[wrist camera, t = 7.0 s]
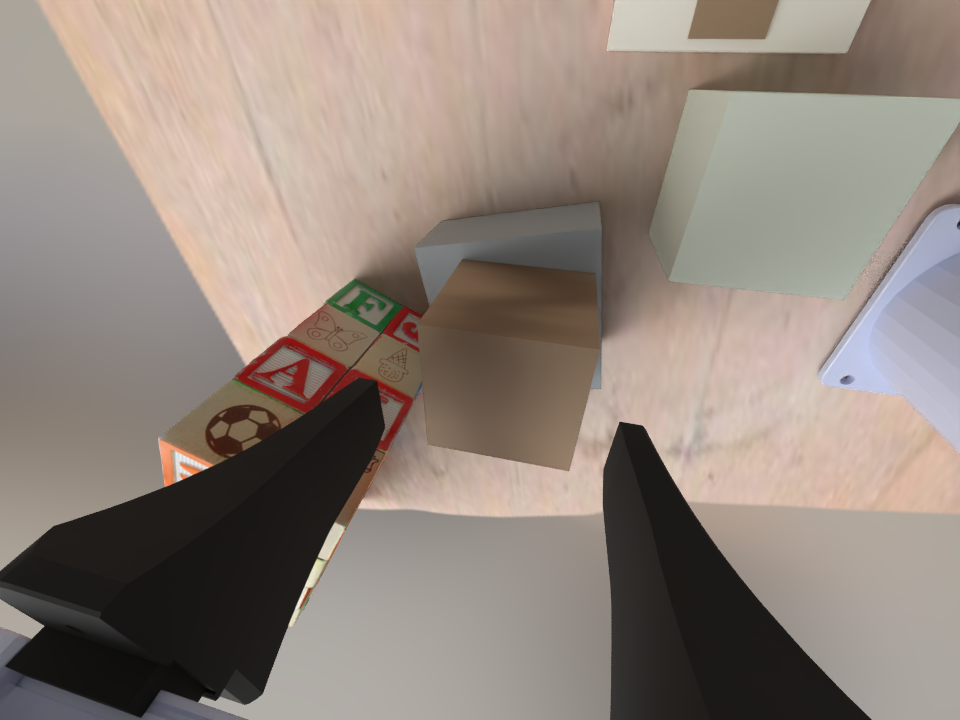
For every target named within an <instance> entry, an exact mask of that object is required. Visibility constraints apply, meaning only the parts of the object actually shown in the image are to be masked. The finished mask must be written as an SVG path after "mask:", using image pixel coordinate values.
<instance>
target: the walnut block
mask: <svg viewBox="0 0 960 720" xmlns="http://www.w3.org/2000/svg"><path fill="white" fill-rule="evenodd" d="M417 328H418V339H419V350H420V362H421V373H422V384H423V396H424V407H425V418H426V430H427V441H428V445H434V446H439V447H444V448H449V449H455V450H460V451H465V452H471V453H476V454H481V455H486V456H492V457H497V458H502V459H507V460H513V461H518V462H523V463H529V464H534V465H539V466H544V467H550V468H555V469H560V470H565V471H569V470H570V466H571V462H572V458H573V454H574V450H575V446H576V442H577V438H578V435H579V431H580V427H581V423H582V419H583V415H584V411H585V407H586V403H587V399H588V395H589V391H590V387H591V383H592V380H593V376H594V372H595V368H596V364H597V360H598V356H599V352H600V339H599V322H598V305H597V288H596V273H589V272H580V271H570V270H561V269H551V268H542V267H532V266H523V265H514V264H504V263H495V262H485V261H476V260H466V259H462V260H461V262H460V263H459V264H458V266H457V267H456V269H455V270H454V272H453V273H452V275H451V276H450V278H449V279H448V280H447V282H446V283H445V285H444V286H443V288H442V289H441V291H440V292H439V294H438V295H437V296H436V298H435V299H434V301H433V302H432V304H431V305H430V307H429V308H428V310H427V311H426V313H425V314H424V315H423V317H422V318H421V320H420V321H419V323H418V324H417Z"/></svg>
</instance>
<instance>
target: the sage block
mask: <svg viewBox="0 0 960 720" xmlns="http://www.w3.org/2000/svg"><path fill="white" fill-rule="evenodd" d="M959 123H960V99H956V98H932V97H908V96H884V95H861V94H830V93H796V92H762V91H728V90H695V89H689V92H688V96H687V99H686V103H685V106H684V110H683V113H682V117H681V120H680V124H679V127H678V131H677V135H676V138H675V142H674V145H673V149H672V152H671V156H670V159H669V163H668V166H667V170H666V173H665V177H664V180H663V184H662V187H661V191H660V195H659V198H658V202H657V205H656V209H655V212H654V216H653V219H652V223H651V226H650V230H649V233H648V234H649V236H650V239H651V241H652V244H653V246H654V248H655V251H656V253H657V256H658V258H659V260H660V263H661V265H662V268H663V270H664V272H665V275H666V277H667V279H668V281H669V282H678V283H688V284H697V285H706V286H716V287H725V288H734V289H744V290H753V291H762V292H772V293H781V294H790V295H800V296H809V297H818V298H828V299H837V300H844V299H845V297H846V296H847V294H848V293H849V291H850V290H851V288H852V287H853V285H854V284H855V282H856V281H857V279H858V277H859V276H860V274H861V273H862V271H863V270H864V268H865V267H866V265H867V264H868V262H869V261H870V259H871V258H872V256H873V254H874V253H875V251H876V250H877V248H878V247H879V245H880V244H881V242H882V241H883V239H884V238H885V236H886V235H887V233H888V231H889V230H890V228H891V227H892V225H893V224H894V222H895V221H896V219H897V218H898V216H899V215H900V213H901V212H902V210H903V208H904V207H905V205H906V204H907V202H908V201H909V199H910V198H911V196H912V195H913V193H914V192H915V190H916V189H917V187H918V185H919V184H920V182H921V181H922V179H923V178H924V176H925V175H926V173H927V172H928V170H929V169H930V167H931V166H932V164H933V162H934V161H935V159H936V158H937V156H938V155H939V153H940V152H941V150H942V149H943V147H944V146H945V144H946V143H947V141H948V139H949V138H950V136H951V135H952V133H953V132H954V130H955V129H956V127H957V126H958V124H959Z"/></svg>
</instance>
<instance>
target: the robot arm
mask: <svg viewBox="0 0 960 720" xmlns="http://www.w3.org/2000/svg"><path fill="white" fill-rule="evenodd" d="M959 221H960V204H946V205H943V206H941V207H938V208H937V209H935V210H934V211H932V212H931V213H930V214H929V215H928V216H927V217H926V219H925V220H924V222H923V223H922V224H921V226H920V227H919V229H918V230H917V232H916V233H915V235H914V236H913V237H912V239H911V240H910V242H909V243H908V245H907V246H906V247H905V249H904V250H903V252H902V253H901V255H900V256H899V258H898V259H897V260H896V262H895V263H894V265H893V266H892V268H891V269H890V271H889V272H888V273H887V275H886V276H885V278H884V279H883V281H882V282H881V284H880V285H879V286H878V288H877V289H876V291H875V292H874V294H873V295H872V297H871V298H870V299H869V301H868V302H867V304H866V305H865V307H864V308H863V309H862V311H861V312H860V314H859V315H858V317H857V318H856V320H855V321H854V322H853V324H852V325H851V327H850V328H849V330H848V331H847V333H846V334H845V335H844V337H843V338H842V340H841V341H840V343H839V344H838V346H837V347H836V348H835V350H834V351H833V353H832V354H831V356H830V357H829V359H828V360H827V361H826V363H825V364H824V366H823V367H822V369H821V370H820V372H819V374H818V379H819V380H820V381H821V382H822V383H823V384H824V385H827V386H832V387H839V388H846V389H853V390H860V391H868V392H875V393H882V394H889V395H896V396H902V397H903V398H904V399H905V400H906V401H907V402H908V403H909V404H910V405H911V406H912V407H913V408H914V409H915V410H916V411H917V412H918V413H919V414H920V415H921V416H922V417H923V418H924V419H925V420H926V421H927V422H928V423H929V424H930V425H931V426H932V427H933V428H934V429H935V430H936V431H937V432H938V433H939V434H940V435H941V436H942V437H943V438H944V439H945V440H946V441H947V442H948V443H949V444H950V445H951V446H952V447H953V448H954V449H955V450H956V451H957V452H958V453H959V454H960V226H957V224H958V222H959ZM848 375H850V376H848ZM845 376H848V377H847V378H845V379H842V378H843V377H845ZM384 430H385V422H384V416H383V411H382V405H381V399H380V394H379V388H378V382H377V381H376V380H370V379H365V378H358V379H356V380H354V381H353V382H351V383H350V384H348V385H347V386H345V387H344V388H342V389H341V390H339V391H338V392H337V393H335V394H334V395H332V396H331V397H329V398H328V399H326V400H325V401H323V402H322V403H320V404H319V405H317V406H316V407H314V408H313V409H312V410H310V411H309V412H307V413H306V414H304V415H303V416H301V417H299V418H298V419H296V420H295V421H293V422H291V423H290V424H288V425H287V426H285V427H283V428H282V429H280V430H278V431H277V432H275V433H274V434H272V435H270V436H269V437H267V438H265V439H264V440H262V441H260V442H258V443H257V444H255V445H253V446H251V447H249V448H247V449H246V450H244V451H242V452H240V453H238V454H236V455H234V456H232V457H230V458H228V459H226V460H224V461H222V462H220V463H218V464H216V465H214V466H212V467H209V468H207V469H205V470H203V471H201V472H198V473H196V474H194V475H192V476H190V477H187V478H185V479H183V480H181V481H178V482H176V483H174V484H171V485H169V486H166V487H164V488H161V489H159V490H156V491H154V492H151V493H149V494H146V495H144V496H141V497H138V498H136V499H133V500H130V501H128V502H125V503H122V504H119V505H116V506H114V507H111V508H108V509H105V510H102V511H99V512H96V513H93V514H90V515H87V516H84V517H81V518H78V519H75V520H72V521H69V522H65V523H62V524H59V525H56V526H53V527H52V528H51V529H50V530H48V531H47V532H46V533H45V534H44V535H42V536H41V537H40V538H39V539H38V540H37V541H35V542H34V543H33V544H32V545H31V546H29V548H27V549H26V550H25V551H23V552H22V553H21V554H20V555H19V556H17V557H16V558H15V559H14V560H13V561H12V562H10V563H9V564H8V565H7V566H6V567H4V568H3V569H2V570H1V571H0V599H1V600H3V601H4V602H6V603H8V604H9V605H11V606H13V607H14V608H16V609H18V610H19V611H21V612H23V613H24V614H26V615H28V616H29V617H31V618H33V619H34V620H36V621H38V622H39V623H41V624H42V625H44V628H42V629H41V630H40V631H39V633H38V634H36V635H35V636H34V637H33V638H32V639H30V638H28V637H26V636H23V635H21V634H18V633H16V632H13V631H10V630H7V629H4V628H2V627H0V720H247V719H244V718H242V717H239V716H236V715H233V714H230V713H227V712H224V711H221V710H218V709H216V708H213V707H210V706H207V705H204V704H201V703H198V702H199V700H200V698H201V697H205V698H208V699H211V700H214V701H216V700H217V699H218V698H219V697H223V698H226V699H229V700H232V701H235V702H238V703H241V704H244V705H246V704H249V703H251V702H252V701H254V700H256V699H257V698H258V697H259V696H261V695H262V694H263V692H264V689H265V686H266V683H267V681H268V678H269V675H270V672H271V670H272V667H273V664H274V661H275V659H276V656H277V654H278V651H279V648H280V646H281V643H282V640H283V638H284V635H285V633H286V630H287V628H288V625H289V623H290V620H291V618H292V615H293V613H294V611H295V608H296V606H297V603H298V601H299V598H300V596H301V594H302V591H303V589H304V587H305V585H306V582H307V580H308V578H309V575H310V573H311V571H312V569H313V566H314V564H315V562H316V560H317V558H318V555H319V553H320V551H321V549H322V547H323V545H324V543H325V540H326V538H327V536H328V534H329V532H330V530H331V528H332V527H333V525H334V523H335V521H336V519H337V517H338V516H339V514H340V512H341V511H342V509H343V507H344V506H345V504H346V502H347V501H348V499H349V497H350V495H351V494H352V492H353V490H354V489H355V487H356V485H357V484H358V482H359V480H360V479H361V477H362V475H363V473H364V472H365V470H366V468H367V466H368V465H369V463H370V461H371V459H372V458H373V456H374V454H375V451H376V449H377V447H378V445H379V442H380V440H381V437H382V435H383V432H384ZM603 512H604V523H605V533H606V544H607V554H608V564H609V575H610V586H611V603H612V604H611V606H612V652H611V653H612V654H611V655H612V657H611V713H610V720H871V719H870V718H869V717H868V716H867V715H866V714H865V713H864V712H863V711H862V710H861V709H860V708H859V707H858V706H857V705H856V704H855V703H854V702H853V701H852V700H851V699H850V698H849V697H848V696H847V695H846V694H845V693H844V692H843V691H842V690H841V689H840V688H839V687H838V686H837V685H836V684H835V683H834V682H833V681H832V680H831V679H830V678H829V677H828V676H827V675H826V674H825V673H824V672H823V671H822V669H820V667H819V666H818V665H817V664H816V663H815V662H814V661H813V660H812V659H811V658H810V657H809V656H808V655H807V654H806V653H805V652H804V651H803V650H802V648H800V646H799V645H798V644H797V643H796V642H795V641H794V639H793V638H792V637H791V636H790V635H789V634H788V633H787V632H786V630H785V629H784V628H783V627H782V626H781V625H780V624H779V623H778V621H777V620H776V619H775V618H774V617H773V616H772V615H771V614H770V612H769V611H768V610H767V609H766V608H765V607H764V606H763V605H762V603H761V602H760V601H759V600H758V599H757V597H756V596H755V595H754V594H753V593H752V591H751V590H750V589H749V588H748V586H747V585H746V584H745V583H744V581H743V580H742V579H741V578H740V577H739V575H738V574H737V573H736V571H735V570H734V569H733V568H732V566H731V565H730V564H729V562H728V561H727V560H726V558H725V557H724V556H723V555H722V553H721V552H720V550H719V549H718V548H717V546H716V545H715V544H714V542H713V541H712V539H711V538H710V537H709V535H708V534H707V532H706V531H705V529H704V528H703V526H702V525H701V523H700V522H699V520H698V519H697V518H696V516H695V515H694V513H693V511H692V510H691V508H690V507H689V505H688V504H687V502H686V500H685V499H684V497H683V496H682V494H681V492H680V491H679V489H678V487H677V486H676V484H675V482H674V481H673V479H672V477H671V476H670V474H669V472H668V470H667V469H666V467H665V465H664V463H663V462H662V460H661V458H660V456H659V454H658V452H657V451H656V449H655V447H654V445H653V443H652V441H651V439H650V437H649V435H648V433H647V431H646V429H645V428H644V427H643V426H642V425H636V424H630V423H624V422H619V425H618V428H617V431H616V434H615V437H614V440H613V443H612V446H611V449H610V452H609V455H608V458H607V461H606V464H605V467H604V473H603Z"/></svg>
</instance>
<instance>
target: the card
mask: <svg viewBox="0 0 960 720" xmlns="http://www.w3.org/2000/svg"><path fill="white" fill-rule="evenodd" d="M870 2H871V0H615V2H614V8H613V14H612V20H611V26H610V32H609V38H608V44H607V50H606V51H618V52H702V53H785V54H842V53H847V52H848V49H849V47H850V45H851V43H852V41H853V39H854V36H855V34H856V32H857V30H858V28H859V26H860V23H861V21H862V19H863V17H864V15H865V12H866V10H867V8H868V6H869V4H870Z"/></svg>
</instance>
